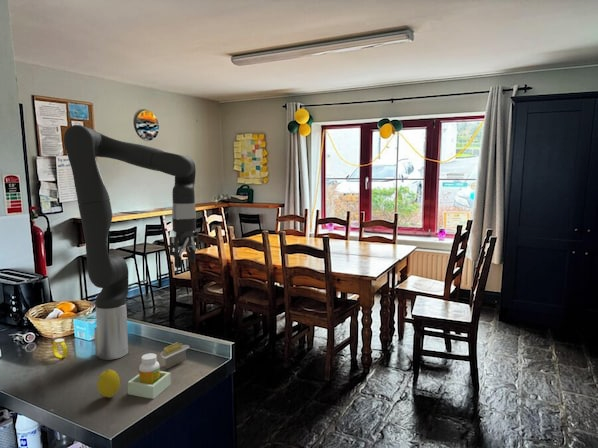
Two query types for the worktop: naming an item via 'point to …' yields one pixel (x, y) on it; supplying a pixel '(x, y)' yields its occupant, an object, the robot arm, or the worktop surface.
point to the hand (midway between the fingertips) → (185, 264)
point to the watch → (65, 350)
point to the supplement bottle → (149, 369)
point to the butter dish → (174, 354)
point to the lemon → (108, 383)
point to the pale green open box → (149, 386)
